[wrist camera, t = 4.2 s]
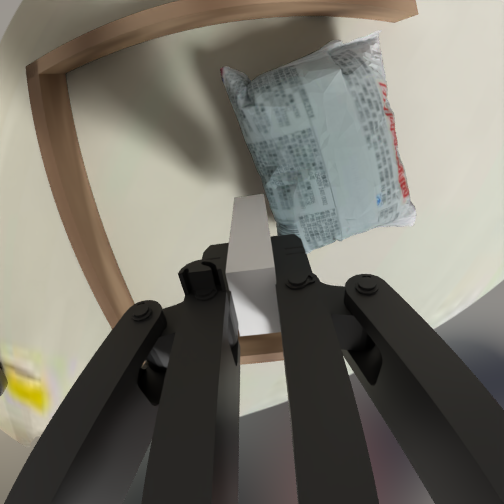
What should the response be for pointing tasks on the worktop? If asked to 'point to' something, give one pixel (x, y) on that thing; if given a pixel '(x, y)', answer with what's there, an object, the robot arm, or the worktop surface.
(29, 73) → the wooden frame
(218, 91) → the worktop surface
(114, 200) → the worktop surface
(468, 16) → the worktop surface
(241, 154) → the worktop surface
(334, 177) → the packaged food
